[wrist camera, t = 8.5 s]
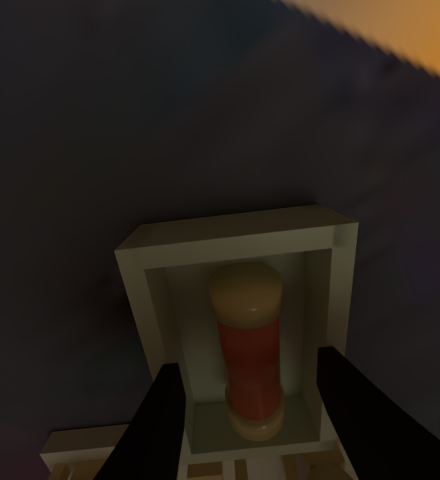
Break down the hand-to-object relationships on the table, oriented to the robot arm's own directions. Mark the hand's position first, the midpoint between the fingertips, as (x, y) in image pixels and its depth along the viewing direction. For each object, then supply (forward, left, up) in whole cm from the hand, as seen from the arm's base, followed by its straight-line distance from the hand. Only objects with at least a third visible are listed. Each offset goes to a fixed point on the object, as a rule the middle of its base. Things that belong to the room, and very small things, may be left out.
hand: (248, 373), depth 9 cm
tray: (0, 0, -3) cm, 3 cm away
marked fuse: (0, 0, -2) cm, 2 cm away
